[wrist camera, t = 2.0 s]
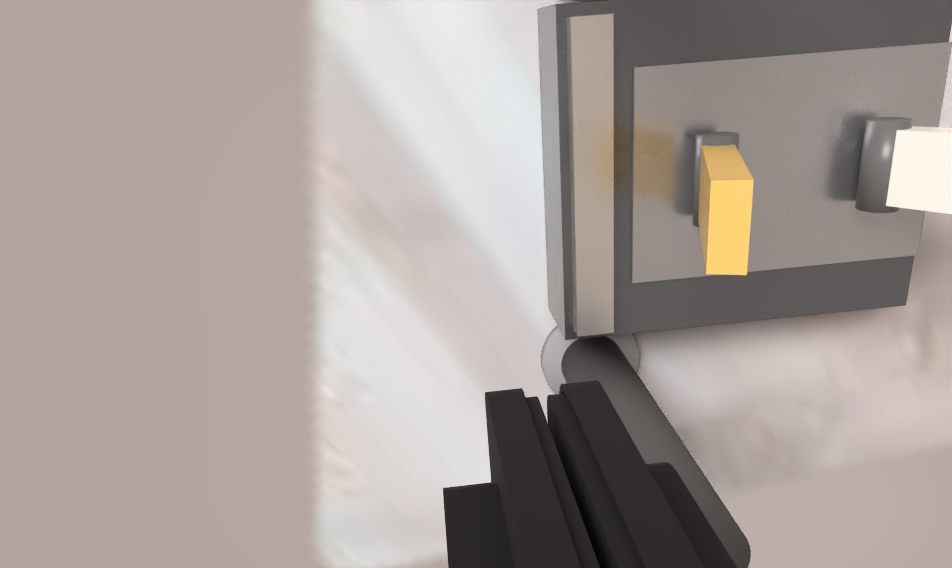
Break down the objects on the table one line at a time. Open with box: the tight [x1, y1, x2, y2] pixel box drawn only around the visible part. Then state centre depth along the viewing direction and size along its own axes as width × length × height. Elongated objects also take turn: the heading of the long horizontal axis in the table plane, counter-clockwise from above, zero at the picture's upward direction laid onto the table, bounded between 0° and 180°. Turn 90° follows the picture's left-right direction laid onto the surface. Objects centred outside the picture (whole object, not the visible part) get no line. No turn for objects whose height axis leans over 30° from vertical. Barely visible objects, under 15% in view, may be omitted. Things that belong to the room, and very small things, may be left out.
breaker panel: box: [538, 0, 952, 340], centre depth 30 cm, size 16×14×5 cm
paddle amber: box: [692, 132, 754, 275], centre depth 24 cm, size 2×4×8 cm, turn 4°
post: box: [541, 325, 750, 568], centre depth 28 cm, size 5×5×15 cm
